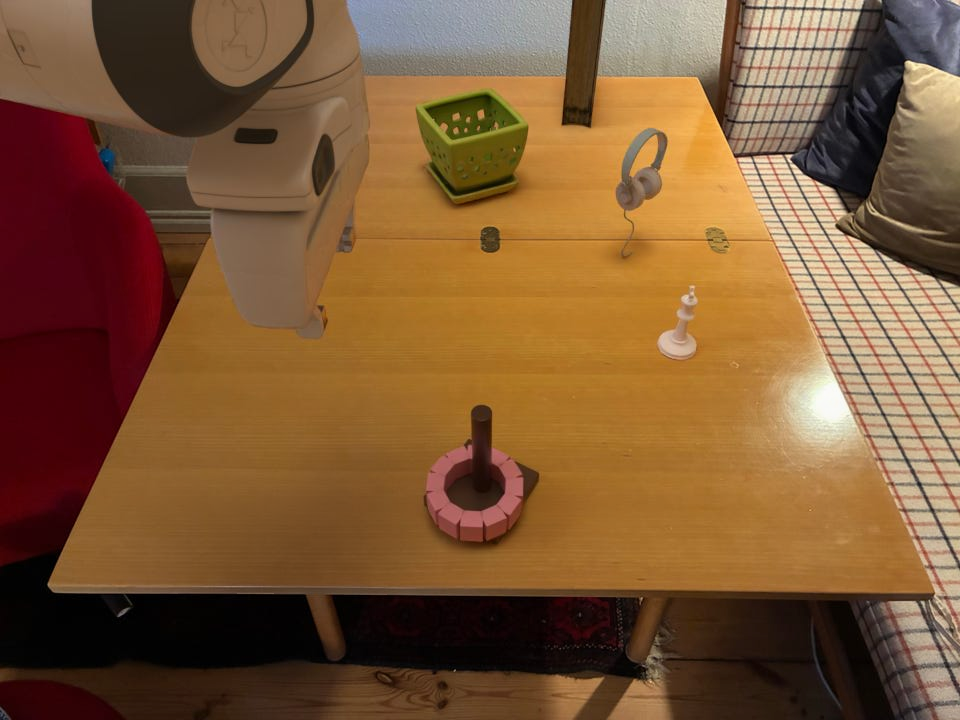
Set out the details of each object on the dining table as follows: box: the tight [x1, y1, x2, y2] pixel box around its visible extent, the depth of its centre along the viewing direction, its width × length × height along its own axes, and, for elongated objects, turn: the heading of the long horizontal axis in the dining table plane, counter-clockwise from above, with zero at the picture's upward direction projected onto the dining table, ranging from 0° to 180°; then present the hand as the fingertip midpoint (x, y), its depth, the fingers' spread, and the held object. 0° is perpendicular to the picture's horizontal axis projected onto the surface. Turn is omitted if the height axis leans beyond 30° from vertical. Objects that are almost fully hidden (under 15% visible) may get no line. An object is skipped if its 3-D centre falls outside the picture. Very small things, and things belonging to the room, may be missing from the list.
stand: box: [422, 404, 540, 545], centre depth 70 cm, size 9×9×14 cm
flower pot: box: [415, 87, 529, 205], centre depth 112 cm, size 14×14×13 cm
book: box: [561, 0, 607, 128], centre depth 126 cm, size 16×6×25 cm, turn 171°
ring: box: [425, 445, 524, 542], centre depth 71 cm, size 10×10×3 cm
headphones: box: [615, 127, 669, 259], centre depth 95 cm, size 8×4×20 cm, turn 134°
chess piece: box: [656, 285, 699, 361], centre depth 86 cm, size 5×5×10 cm
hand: (329, 286), depth 50 cm, fingers open, 8 cm apart
